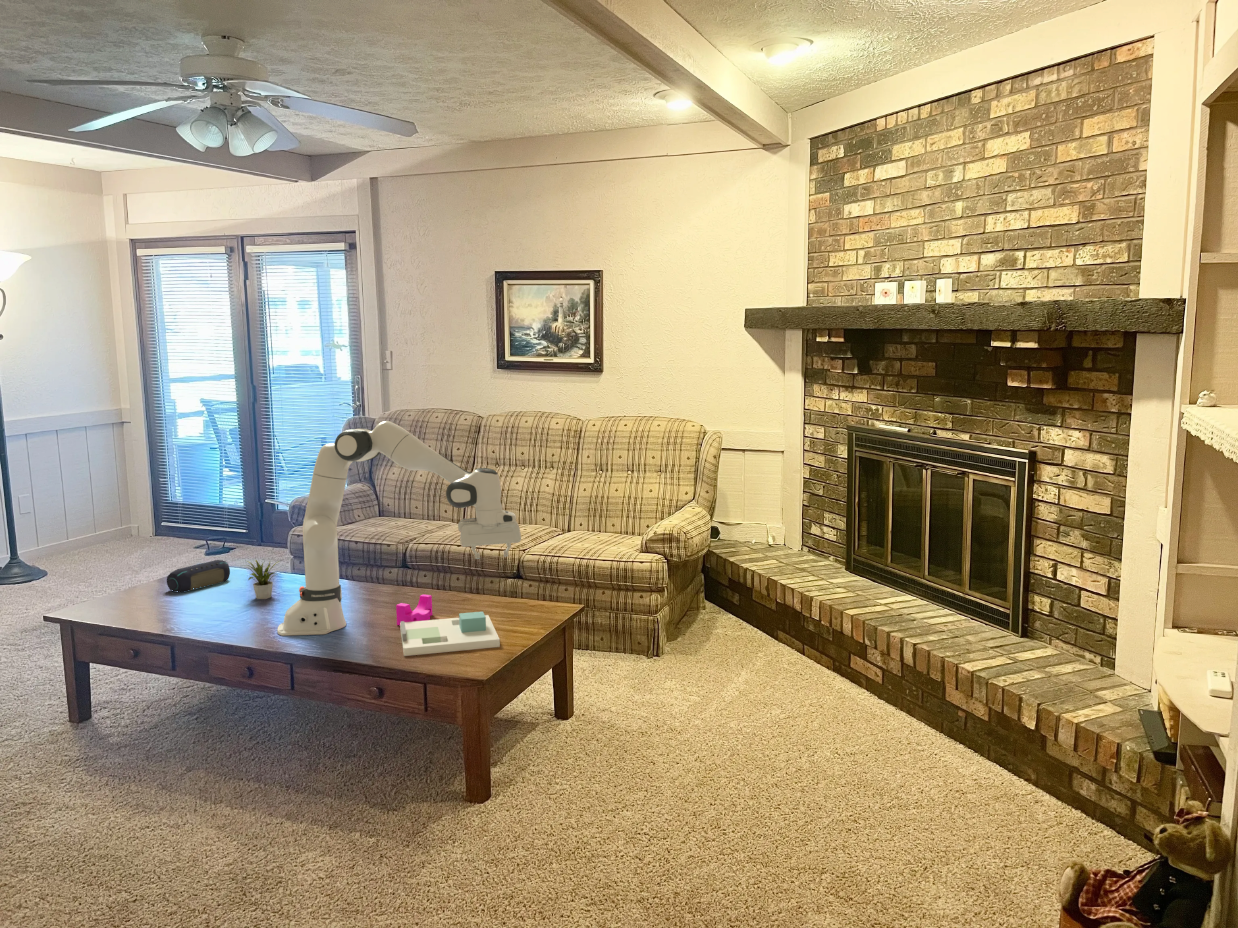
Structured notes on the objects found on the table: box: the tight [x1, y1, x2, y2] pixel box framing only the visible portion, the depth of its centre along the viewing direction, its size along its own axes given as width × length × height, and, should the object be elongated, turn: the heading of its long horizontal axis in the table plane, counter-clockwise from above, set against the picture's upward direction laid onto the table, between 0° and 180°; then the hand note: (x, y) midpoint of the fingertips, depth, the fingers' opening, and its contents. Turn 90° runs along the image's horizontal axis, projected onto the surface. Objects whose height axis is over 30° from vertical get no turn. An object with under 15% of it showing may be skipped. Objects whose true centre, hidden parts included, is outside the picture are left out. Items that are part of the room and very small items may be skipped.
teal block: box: [458, 611, 486, 633], centre depth 308 cm, size 8×7×4 cm
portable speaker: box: [166, 559, 231, 593], centre depth 373 cm, size 25×10×10 cm, turn 150°
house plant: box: [242, 558, 280, 600], centre depth 355 cm, size 14×14×16 cm
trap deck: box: [399, 614, 501, 657], centre depth 306 cm, size 30×28×5 cm
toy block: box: [395, 594, 433, 627], centre depth 326 cm, size 15×6×8 cm, turn 154°
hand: (491, 557), depth 310 cm, fingers open, 8 cm apart
